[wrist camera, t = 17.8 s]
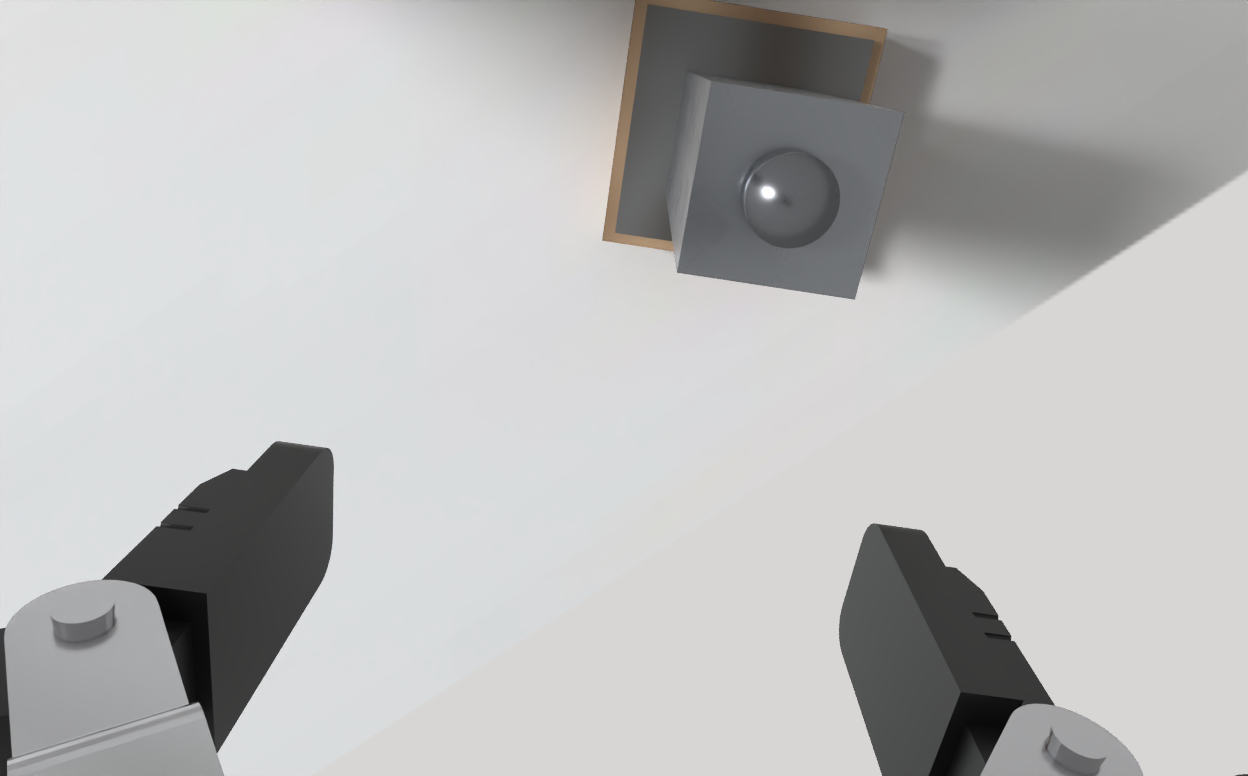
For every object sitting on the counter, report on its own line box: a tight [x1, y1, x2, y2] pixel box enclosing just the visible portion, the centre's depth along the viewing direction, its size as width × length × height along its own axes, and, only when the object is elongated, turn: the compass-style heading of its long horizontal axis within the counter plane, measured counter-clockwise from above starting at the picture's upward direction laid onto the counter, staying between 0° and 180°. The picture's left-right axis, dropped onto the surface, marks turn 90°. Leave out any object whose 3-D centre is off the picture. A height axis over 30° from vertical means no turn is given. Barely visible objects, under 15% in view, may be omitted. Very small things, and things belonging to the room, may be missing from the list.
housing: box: [666, 71, 904, 299], centre depth 27 cm, size 5×5×14 cm
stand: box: [602, 0, 888, 251], centre depth 35 cm, size 10×10×3 cm
